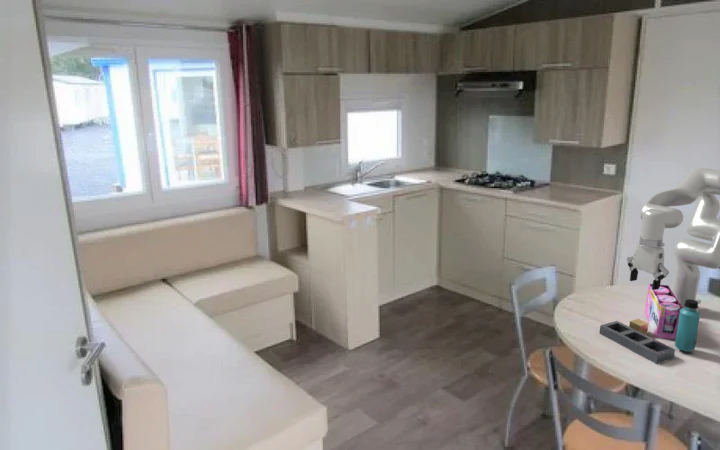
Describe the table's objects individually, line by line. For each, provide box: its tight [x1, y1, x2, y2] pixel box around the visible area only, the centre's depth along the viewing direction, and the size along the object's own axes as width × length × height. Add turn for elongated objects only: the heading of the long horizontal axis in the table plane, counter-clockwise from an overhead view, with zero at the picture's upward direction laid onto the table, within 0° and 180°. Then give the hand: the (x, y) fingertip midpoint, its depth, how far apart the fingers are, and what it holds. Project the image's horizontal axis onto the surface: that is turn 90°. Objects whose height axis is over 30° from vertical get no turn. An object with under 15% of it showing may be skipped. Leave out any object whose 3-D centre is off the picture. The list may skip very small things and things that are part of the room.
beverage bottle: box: [674, 299, 701, 352], centre depth 190 cm, size 6×7×20 cm
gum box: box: [644, 283, 683, 341], centre depth 210 cm, size 24×8×14 cm, turn 163°
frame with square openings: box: [599, 320, 676, 365], centre depth 197 cm, size 9×25×4 cm, turn 24°
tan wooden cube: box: [628, 318, 650, 335], centre depth 207 cm, size 5×5×5 cm
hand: (644, 284), depth 201 cm, fingers open, 9 cm apart
